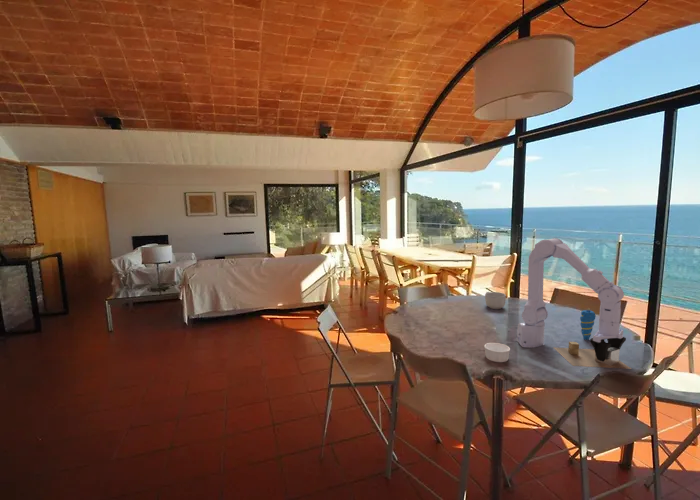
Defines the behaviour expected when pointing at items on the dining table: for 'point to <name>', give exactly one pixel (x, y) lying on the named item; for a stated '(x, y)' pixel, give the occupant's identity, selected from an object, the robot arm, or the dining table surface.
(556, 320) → the dining table surface
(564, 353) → the board
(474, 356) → the dining table surface
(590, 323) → the ornament
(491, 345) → the ramekin
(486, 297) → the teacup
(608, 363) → the beige cube
